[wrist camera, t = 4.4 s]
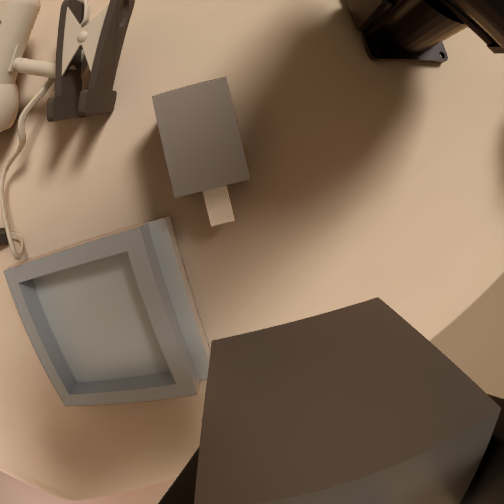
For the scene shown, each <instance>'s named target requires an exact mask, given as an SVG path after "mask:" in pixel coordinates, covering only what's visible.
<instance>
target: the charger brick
mask: <svg viewBox="0 0 504 504" xmlns="http://www.w3.org/2000/svg"><path fill="white" fill-rule="evenodd" d="M500 411H501V407H500V406H499V405H498V404H497V403H496V402H495V401H494V400H492V399H491V398H490V397H489V396H488V395H487V394H486V393H485V392H484V391H483V390H482V389H481V388H480V387H479V386H478V385H477V384H476V383H475V382H473V381H472V380H471V379H470V378H469V377H468V376H467V375H466V374H465V373H464V372H462V370H461V369H459V368H458V367H457V366H456V365H455V364H454V363H453V362H452V361H451V360H450V359H448V358H447V357H446V356H445V355H444V354H443V353H442V352H441V351H440V350H438V349H437V348H436V347H435V346H434V345H433V344H432V343H431V342H429V341H428V340H427V339H426V338H425V337H424V336H423V335H422V334H420V333H419V332H418V331H417V330H416V329H415V328H414V327H412V326H411V325H410V324H409V323H408V322H407V321H405V320H404V319H403V318H402V317H401V316H400V315H398V314H397V313H396V312H395V311H394V310H393V309H391V308H390V307H389V306H388V305H387V304H386V303H384V302H383V301H382V300H381V299H380V298H378V297H377V298H374V299H371V300H368V301H365V302H361V303H358V304H355V305H351V306H348V307H345V308H341V309H338V310H334V311H331V312H327V313H324V314H320V315H316V316H313V317H309V318H305V319H302V320H298V321H294V322H290V323H286V324H282V325H278V326H274V327H270V328H266V329H262V330H258V331H254V332H249V333H245V334H241V335H236V336H232V337H227V338H222V339H218V340H213V341H212V344H211V352H210V360H209V368H208V376H207V385H206V393H205V402H204V411H203V419H202V429H201V438H200V447H199V457H198V467H197V478H196V488H195V499H194V504H460V502H461V500H462V498H463V496H464V495H465V493H466V491H467V489H468V487H469V485H470V483H471V481H472V479H473V477H474V475H475V473H476V471H477V469H478V466H479V464H480V462H481V460H482V458H483V455H484V453H485V451H486V448H487V446H488V443H489V441H490V438H491V436H492V433H493V430H494V428H495V425H496V422H497V419H498V416H499V414H500Z"/></svg>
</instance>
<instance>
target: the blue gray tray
mask: <svg viewBox="0 0 504 504" xmlns="http://www.w3.org/2000/svg"><path fill="white" fill-rule="evenodd" d="M4 274H5V277H6V280H7V283H8V286H9V289H10V292H11V294H12V297H13V300H14V302H15V305H16V308H17V310H18V313H19V315H20V318H21V320H22V323H23V325H24V327H25V330H26V332H27V334H28V336H29V339H30V341H31V343H32V345H33V347H34V349H35V351H36V353H37V356H38V358H39V360H40V362H41V364H42V366H43V367H44V369H45V371H46V373H47V375H48V377H49V379H50V381H51V382H52V384H53V386H54V388H55V390H56V391H57V393H58V395H59V397H60V398H61V400H62V402H63V403H64V405H65V406H92V405H110V404H123V403H135V402H145V401H154V400H163V399H171V398H178V397H185V396H192V395H198V391H199V385H200V380H204V379H207V376H208V368H209V360H210V352H211V350H210V347H209V344H208V342H207V339H206V336H205V333H204V330H203V327H202V323H201V320H200V317H199V314H198V311H197V308H196V305H195V302H194V298H193V295H192V292H191V289H190V286H189V282H188V279H187V276H186V272H185V269H184V265H183V262H182V259H181V255H180V252H179V248H178V245H177V241H176V237H175V234H174V230H173V226H172V223H171V219H170V216H167V217H163V218H159V219H156V220H152V221H149V222H145V223H142V224H138V225H135V226H131V227H128V228H125V229H121V230H118V231H115V232H111V233H108V234H105V235H101V236H98V237H95V238H92V239H89V240H85V241H82V242H79V243H76V244H73V245H70V246H67V247H64V248H61V249H58V250H55V251H52V252H49V253H46V254H43V255H40V256H37V257H34V258H31V259H29V260H26V261H23V262H20V263H17V264H15V265H13V266H11V267H9V268H8V269H6V270H4Z"/></svg>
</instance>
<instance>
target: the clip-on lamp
mask: <svg viewBox="0 0 504 504" xmlns="http://www.w3.org/2000/svg"><path fill="white" fill-rule="evenodd" d="M134 2H135V0H110V3H109V5H108V6H107V7H106V8H105V9H104V10H103V11H102V12H101V13H100V14H99V15H98V16H97V17H96V19H95V20H94V21H93V22H92V23H90V21H89V13H90V5H89V2H88V1H86V0H64V1H63V3H62V6H61V11H60V19H59V28H58V38H57V52H56V62H49V61H42V60H33V59H28V58H22V57H23V54H24V51H25V48H26V45H27V42H28V39H29V36H30V33H31V31H32V28H33V25H34V23H35V20H36V18H37V15H38V13H39V11H40V7H41V5H40V0H0V133H1V131H3V130H6V129H9V128H10V127H11V126H12V125H13V123H14V121H15V119H16V117H17V114H18V110H19V104H20V97H19V91H18V87H17V85H16V83H15V81H16V78H17V74H18V73H23V74H30V75H37V76H43V77H49V79H48V81H47V82H46V83H45V85H44V86H43V87H42V88H41V90H40V91H39V92H38V93H37V94H36V95H35V96H34V97H33V99H32V100H31V101H30V102H29V103H28V104H27V106H26V107H25V108H24V110H23V111H22V113H21V114H20V117H19V120H18V134H19V146H18V149H17V150H16V152H15V153H14V154H13V156H12V157H11V158H10V159H9V161H8V162H7V163H6V165H5V167H4V169H3V171H2V174H1V178H0V201H1V209H2V215H3V220H4V225H5V228H0V245H7V244H8V242H9V245H10V248H11V251H12V254H13V256H14V257H15V259H18V260H20V258H21V257H22V255H23V250H24V244H23V238H22V236H21V235H20V234H19V233H16V232H11V231H10V227H9V222H8V218H7V212H6V206H5V198H4V181H5V177H6V173H7V171H8V169H9V167H10V165H11V164H12V162H13V161H14V160H15V158H16V157H17V156H18V155H19V153H20V152H21V151H22V149H23V147H24V145H25V142H26V134H25V128H24V122H25V119H26V116H27V114H28V113H29V111H30V110H31V109H32V108H33V106H34V105H35V104H36V103H37V102H38V101H39V100H40V98H41V97H42V96H43V95H44V94H45V93H46V92H47V90H48V89H49V88H50V87H51V85H52V84H53V82H54V81H55V97H51V98H49V99H48V101H47V120H48V121H49V122H53V121H59V120H65V119H71V118H77V117H84V116H85V115H90V114H98V113H107V112H113V110H114V105H115V101H116V94H117V93H116V91H112V89H113V84H114V79H115V75H116V70H117V66H118V61H119V57H120V53H121V49H122V45H123V41H124V38H125V34H126V30H127V27H128V23H129V20H130V17H131V14H132V10H133V7H134ZM88 66H89V68H90V71H91V75H90V80H89V85H88V89H83V90H82V77H83V75H84V73H85V71H86V70H87V68H88ZM13 239H15V240H18V241H19V242H20V243H21V247H20V250H19V252H18V253H17V251H16V249H15V246H14V243H13Z"/></svg>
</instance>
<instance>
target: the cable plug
mask: <svg viewBox="0 0 504 504" xmlns="http://www.w3.org/2000/svg"><path fill="white" fill-rule="evenodd" d="M152 99H153V104H154V109H155V114H156V119H157V123H158V128H159V133H160V138H161V142H162V147H163V151H164V156H165V160H166V164H167V169H168V173H169V177H170V181H171V185H172V189H173V194H174V198H178V197H182V196H186V195H190V194H194V193H198V192H203V196H204V200H205V204H206V208H207V212H208V216H209V220H210V224H211V226H215V225H219V224H223V223H228V222H232V221H235V218H234V214H233V210H232V206H231V202H230V197H229V193H228V189H227V185H230V184H234V183H238V182H242V181H247V180H250V174H249V170H248V166H247V162H246V158H245V153H244V149H243V145H242V141H241V137H240V132H239V128H238V124H237V120H236V116H235V112H234V108H233V104H232V100H231V96H230V91H229V87H228V83H227V79H226V77H222V78H218V79H214V80H209V81H205V82H201V83H197V84H193V85H190V86H186V87H182V88H179V89H175V90H172V91H168V92H165V93H162V94H158V95H155V96H152Z"/></svg>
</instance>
